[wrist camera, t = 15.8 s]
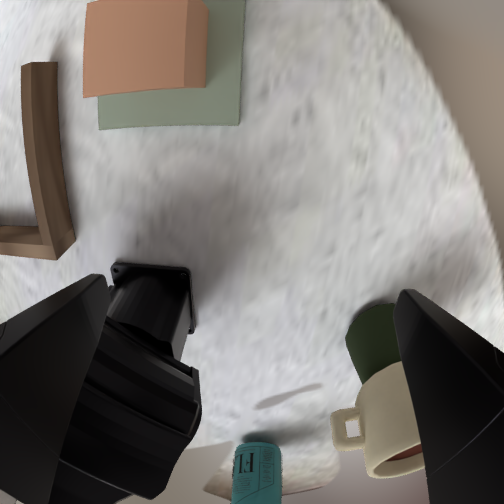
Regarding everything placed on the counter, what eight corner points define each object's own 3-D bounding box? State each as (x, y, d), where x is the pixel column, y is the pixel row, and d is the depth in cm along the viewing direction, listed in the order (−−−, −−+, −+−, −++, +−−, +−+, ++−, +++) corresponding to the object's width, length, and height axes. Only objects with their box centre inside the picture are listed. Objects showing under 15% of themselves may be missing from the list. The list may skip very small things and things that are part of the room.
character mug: (316, 360, 27) (331, 490, 16) (318, 301, 24) (344, 456, 12) (421, 344, 26) (464, 455, 15) (438, 287, 23) (508, 408, 11)
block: (208, 9, 13) (189, -17, 9) (205, 87, 16) (183, 86, 11) (128, 19, 13) (87, 3, 9) (125, 93, 16) (83, 98, 11)
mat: (246, -12, 13) (245, -15, 12) (239, 124, 17) (238, 125, 17) (107, 4, 13) (102, 2, 12) (104, 128, 18) (98, 130, 17)
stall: (57, 61, 15) (31, 62, 12) (75, 241, 22) (56, 260, 19) (-28, 94, 15) (-51, 99, 12) (-6, 236, 22) (-24, 251, 19)
